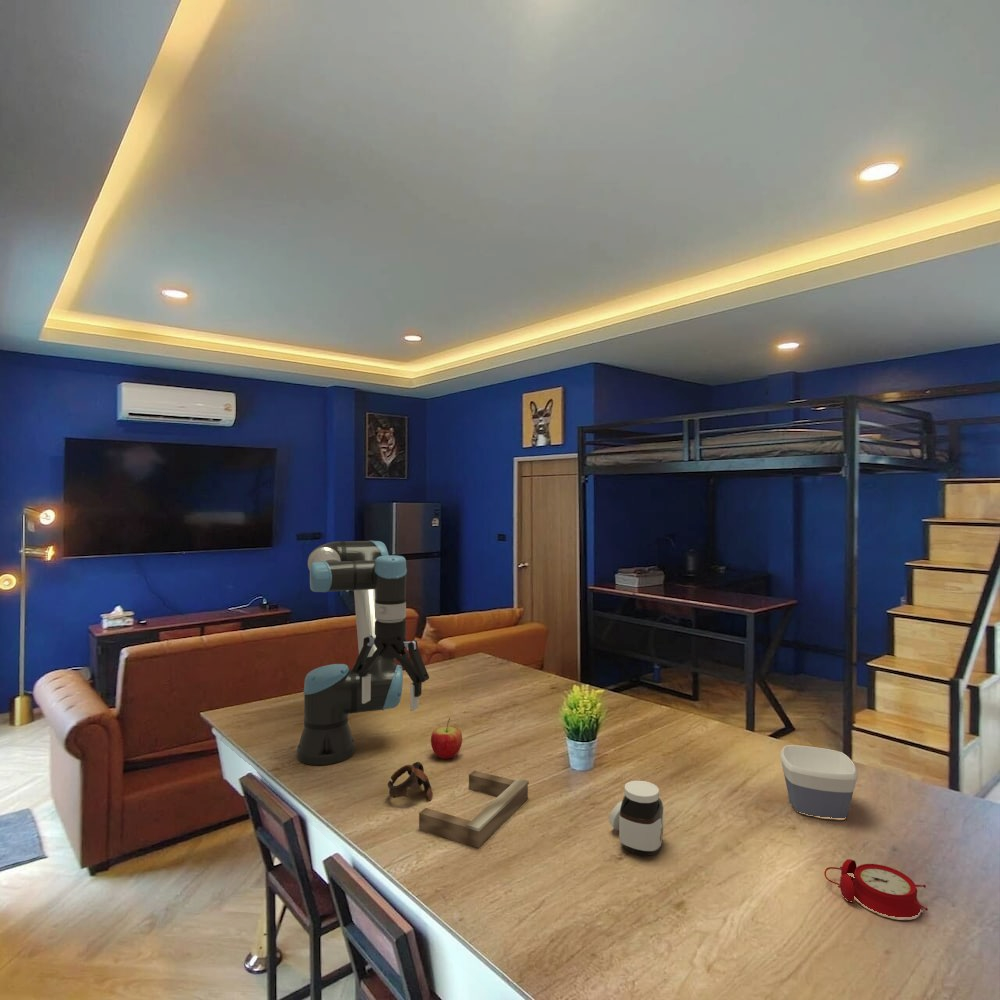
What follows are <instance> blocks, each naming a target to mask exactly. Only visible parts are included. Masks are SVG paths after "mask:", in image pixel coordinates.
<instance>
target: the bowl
mask: <svg viewBox="0 0 1000 1000" xmlns="http://www.w3.org/2000/svg"><path fill="white" fill-rule="evenodd" d="M780 762H781V766H782V773H783V775H784V780H785V785H786V789H787V795H788V800H789V803H790V805H791V804H792V805H791V806H793V807H794V808H793V807H792V808H793V810H794V809H795V810H796V811H798V812H801V813H805V814H808V815H813V816H820V817H830V818H831V817H832V818H845V817H846V816H847V817H848V813H849V810H850V806H851V803H852V799H853V795H854V790H855V788H856V784H857V780H858V777H859V776H858V769H857V767H856V765H855V763H854V762H853V761H852V759H851V758H850V757H849V756H848V755H846V754H845V753H844V752H842V751H839V750H833V749H829V748H823V747H816V746H809V745H808V746H807V745H795V744H793V745H792V744H791V745H790V744H789V745H788V744H786V745H785V746H783V748H781V751H780ZM795 810H794V811H795ZM796 811H795V812H796ZM798 812H797V813H798ZM847 817H846V818H847Z"/></svg>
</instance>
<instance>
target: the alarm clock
mask: <svg viewBox="0 0 1000 1000" xmlns="http://www.w3.org/2000/svg"><path fill="white" fill-rule="evenodd" d="M831 869H832V870H839V871H841V872H840V873H841V875H840V879H839V883H838V882H836V881H833V880H832V879H829V877H827V872H828V870H831ZM847 873H853V874H854V877H855V878H853V877H851V876H849V875H848V874H847ZM823 875H824V877H825V879H826V880H827V881H828V882H831V883H832V884H835V885H837V888H838V889H840V892H841V895H843V896H844V897H843V896H842V897H843V899H844V898H846V899H847V900H848V901H852V902H853V903H854V902H855V900H854V896H855V897H856V898H857V899H858V900H859V901H860V902H861V903H862V904H864V905H865V906H867V907H868V908H870V909H873V910H874V911H877V912H879V913H882V914H886V915H888V916H895V917H912V916H915V915H918V913H919V912H920V909H921V910H922V909H923V910H924V911H926V912H927V911H928V909H929V908H928V907H925V906H923V905H921V904H920V902H919V900H918V889H917V888H920V887H921V888H926V887H927V886H926V884H915V882H914V880H913V879H911V878H910V877H909V876H908V875H906V874H905V873H903V872H901V871H899V870H897V869H895V868H893V867H891V866H886V865H882V864H877V863H864V864H860V865H858V866H857V862H856V861H855V860H854V859H851V858H848V859H846V860H845V861H843V863H842V866H839V867H835V866H834V867H833V866H828V867H827V868H826V869H824V873H823ZM851 879H853V880H851Z"/></svg>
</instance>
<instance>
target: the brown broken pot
mask: <svg viewBox="0 0 1000 1000" xmlns="http://www.w3.org/2000/svg"><path fill="white" fill-rule="evenodd" d="M424 769H425V768H424V765H423V764H422V763H421V762H419V761H416V762H413V763H412V764H405V765H404V766H401V767H399V768H398V769H397V770H395V771H394V772H393V774H392V775H391V776H390V780H389V781H388V782H387V787H388V789H389V791H388V793H389V797H391V798H392V799H396V798H400V797H406V798H408V796H409V795H408V792H409V791H408V789H416V790H417V789H419V788H420V787H421V786H423V790H424V792H426V793H425V795H426V797H427V799H428V802H431V801H432V799H433V795H434V794H433V790H432V786H431V783H430V781H429V778H428V775H426V773H425V772H424V771H425V770H424ZM405 773H407V775H408V777H407V778H406V779H405V780H404V781H403V782H402V783H400V784H397V785H394V784H395V783H396V781H397V780H398V779H399V778H400V777H401V776H402V775H404V774H405Z"/></svg>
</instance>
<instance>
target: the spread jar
mask: <svg viewBox="0 0 1000 1000" xmlns="http://www.w3.org/2000/svg"><path fill="white" fill-rule="evenodd" d="M608 818H609V819H608V821H609V824H610V825H611V826H612V827H613V828H614V830H616V831H619V832H618V833H619V842H620V844H621V845H622V847H624V849H626V850H627V851H629V852H630V853H633V854H635V855H638V856H652V855H656V854H657V853H658V852H659V851H660V850H661V846H662V843H663V838H664V804H663V801H662V799H661V798H660V788H659V787H658V786H657V785H656V784H655V783H653V782H649V781H645V780H631V781H628V782H626V784H624V796H623V799H622V800H621V801H619V802H618V803H617V804H616V805H615V806H614V807H613V809H612V810H611V812H610V814H609V817H608Z"/></svg>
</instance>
